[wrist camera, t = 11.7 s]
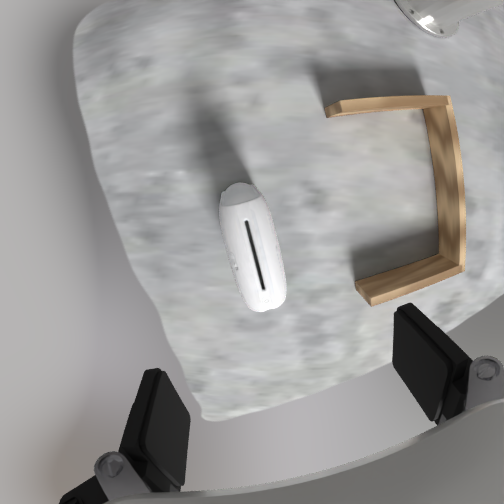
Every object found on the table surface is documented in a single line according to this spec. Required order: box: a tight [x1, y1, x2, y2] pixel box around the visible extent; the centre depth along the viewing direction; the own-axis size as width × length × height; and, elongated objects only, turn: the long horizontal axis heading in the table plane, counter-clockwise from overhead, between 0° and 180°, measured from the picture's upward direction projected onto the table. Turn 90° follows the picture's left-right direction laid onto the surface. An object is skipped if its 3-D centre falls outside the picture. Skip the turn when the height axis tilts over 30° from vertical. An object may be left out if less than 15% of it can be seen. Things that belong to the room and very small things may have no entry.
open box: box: [325, 95, 466, 307], centre depth 31 cm, size 23×16×5 cm
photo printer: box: [219, 183, 287, 312], centre depth 28 cm, size 10×4×12 cm, turn 14°
